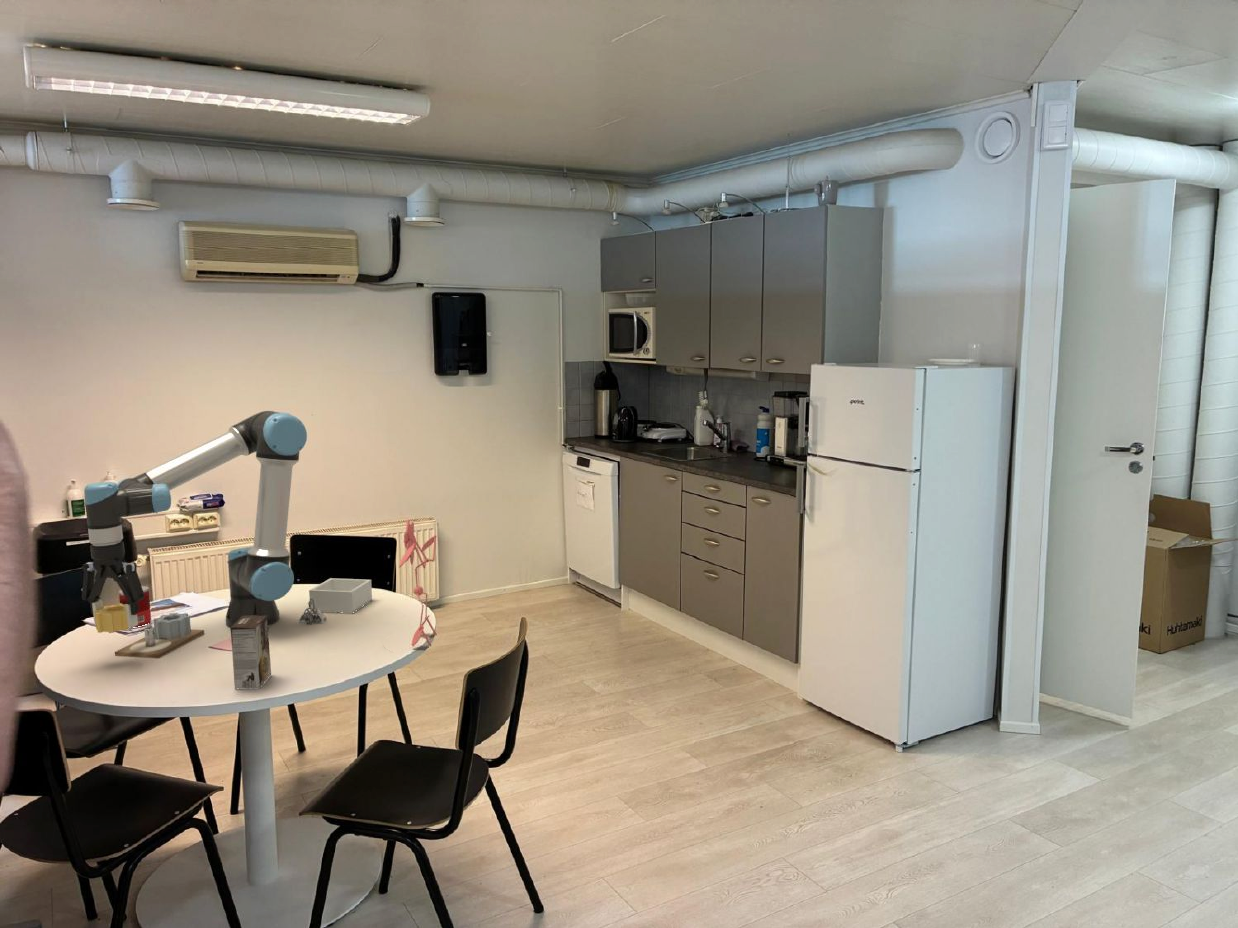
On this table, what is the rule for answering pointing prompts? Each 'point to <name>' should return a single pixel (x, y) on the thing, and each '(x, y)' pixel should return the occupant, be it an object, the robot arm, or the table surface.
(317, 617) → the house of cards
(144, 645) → the gear board
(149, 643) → the peg
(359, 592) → the box
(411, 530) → the figurine
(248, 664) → the coffee box
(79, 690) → the table surface
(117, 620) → the ochre gear
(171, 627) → the gear
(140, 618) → the canned food
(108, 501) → the robot arm
